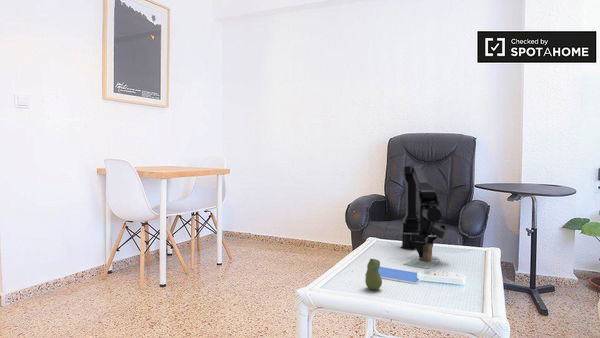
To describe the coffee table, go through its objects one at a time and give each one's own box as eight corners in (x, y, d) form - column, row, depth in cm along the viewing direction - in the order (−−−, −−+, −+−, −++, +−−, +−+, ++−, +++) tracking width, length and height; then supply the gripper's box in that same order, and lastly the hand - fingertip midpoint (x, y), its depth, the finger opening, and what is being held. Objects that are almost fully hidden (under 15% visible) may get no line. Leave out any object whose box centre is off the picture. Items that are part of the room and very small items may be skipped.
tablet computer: (426, 277, 146) (426, 273, 146) (417, 286, 135) (417, 282, 135) (376, 269, 156) (376, 265, 156) (364, 277, 145) (364, 273, 145)
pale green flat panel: (403, 264, 161) (403, 263, 161) (416, 257, 172) (416, 257, 172) (427, 268, 155) (427, 268, 155) (439, 261, 166) (439, 260, 166)
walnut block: (419, 260, 166) (419, 244, 166) (422, 258, 169) (422, 242, 169) (428, 262, 164) (428, 245, 163) (431, 260, 167) (432, 243, 166)
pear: (368, 285, 134) (368, 256, 134) (383, 288, 132) (384, 258, 131) (363, 290, 129) (363, 260, 129) (379, 293, 127) (379, 262, 126)
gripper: (437, 223, 154) (436, 263, 154) (452, 217, 168) (451, 254, 169) (410, 220, 160) (409, 258, 161) (426, 215, 175) (426, 250, 176)
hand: (425, 255), depth 166 cm, fingers open, 9 cm apart
